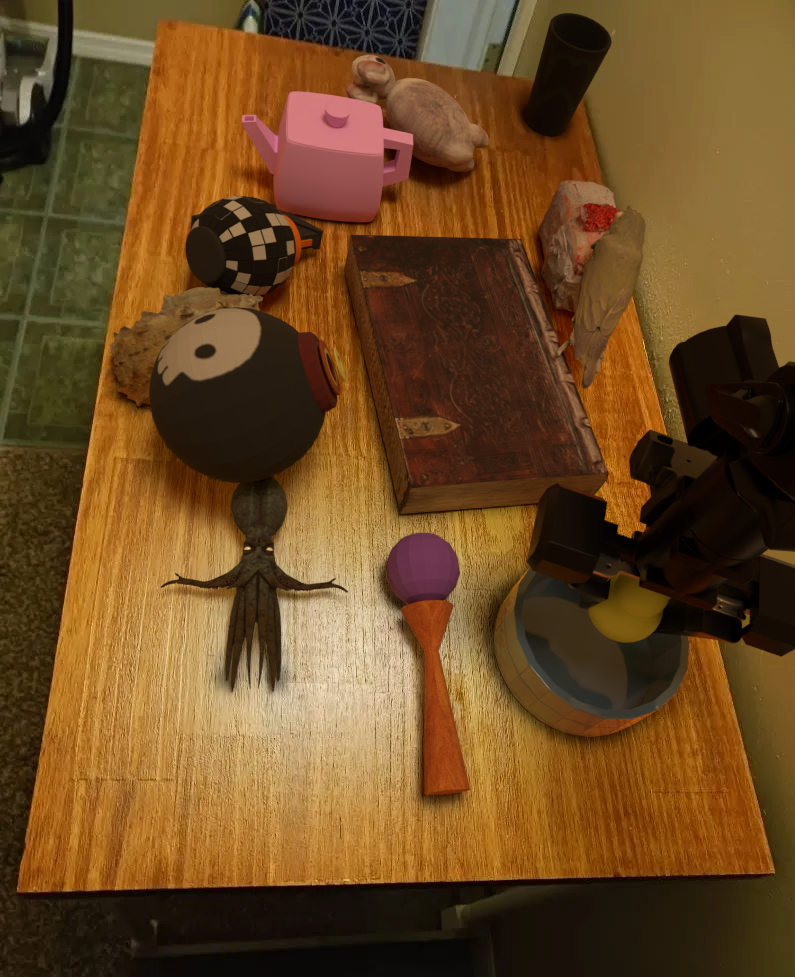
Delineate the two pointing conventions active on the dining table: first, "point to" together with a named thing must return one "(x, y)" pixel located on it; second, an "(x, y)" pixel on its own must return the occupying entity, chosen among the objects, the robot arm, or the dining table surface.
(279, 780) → the dining table surface
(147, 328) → the seashell
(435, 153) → the toy
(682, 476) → the robot arm
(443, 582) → the kendama
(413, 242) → the antique book
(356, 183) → the teapot
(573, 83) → the cup
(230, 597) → the dining table surface
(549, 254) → the food item
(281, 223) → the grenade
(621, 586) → the pear toy
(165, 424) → the toy
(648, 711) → the bowl
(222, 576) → the figurine
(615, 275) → the decorative bird model
